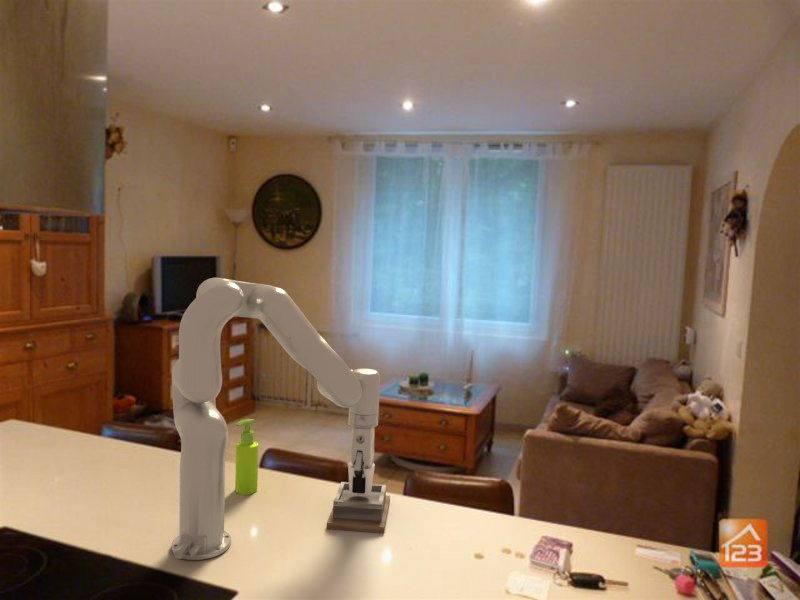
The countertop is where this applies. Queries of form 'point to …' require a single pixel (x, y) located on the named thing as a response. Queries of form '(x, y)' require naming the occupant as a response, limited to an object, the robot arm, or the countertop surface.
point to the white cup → (368, 474)
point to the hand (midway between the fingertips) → (360, 486)
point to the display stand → (359, 510)
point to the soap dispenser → (246, 460)
